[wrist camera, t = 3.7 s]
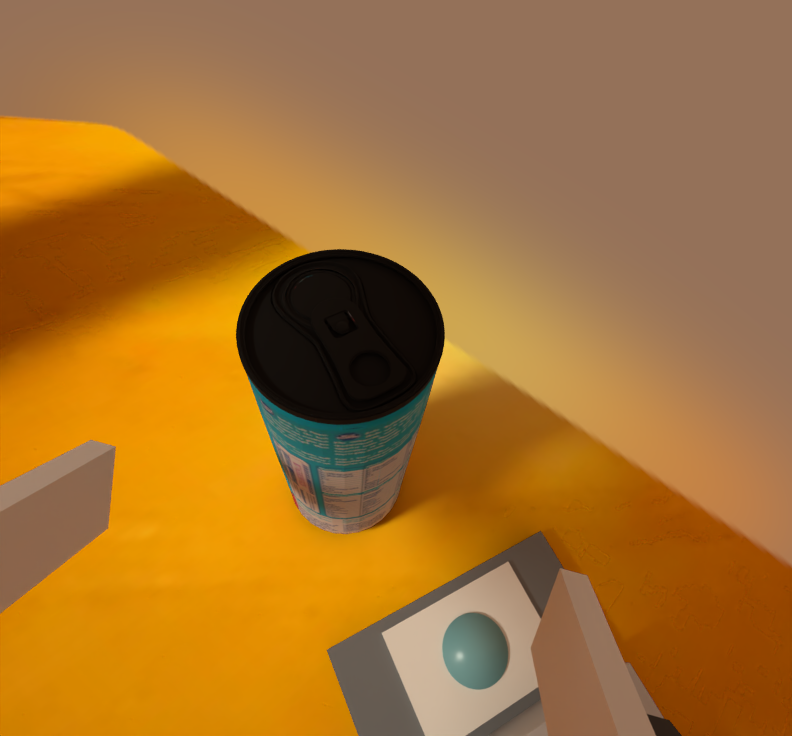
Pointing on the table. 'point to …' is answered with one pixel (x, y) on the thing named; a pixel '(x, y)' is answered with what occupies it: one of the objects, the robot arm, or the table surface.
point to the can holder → (459, 655)
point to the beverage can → (341, 378)
